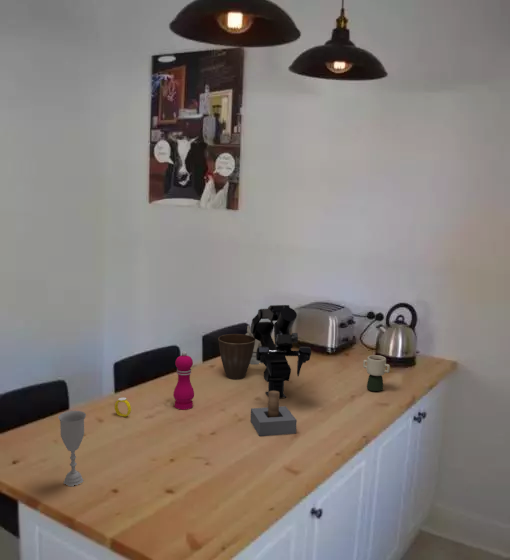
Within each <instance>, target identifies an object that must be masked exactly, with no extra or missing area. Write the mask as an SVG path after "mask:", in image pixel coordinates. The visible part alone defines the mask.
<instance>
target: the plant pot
mask: <svg viewBox="0 0 510 560" xmlns="http://www.w3.org/2000/svg"><path fill="white" fill-rule="evenodd" d="M217 338H218V340H217V341H218V348H219V355H220V359H221V363H222V367H223V370H224V374H225V376H226V378H228V379H230V380H242V379H244V378H245V376H246V375H247V372H248V370H249V367H250V361H251V358H252V354H253V350H254V345H255V338H254V337H252V336H249V335H245V334H241V333H229V334H222V335H220V336H219V337H217Z"/></svg>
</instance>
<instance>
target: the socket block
mask: <svg viewBox="0 0 510 560" xmlns="http://www.w3.org/2000/svg"><path fill="white" fill-rule="evenodd" d="M297 422H298V420H297V419H296V417H295V416H294V415H293V414H292V412H291V411H290V410H289V409H288V407H287V406H286V405H284V406H283V405H282V406H279V417H271V418H268V406H267V407H254V408H253V407H252V408H250V423H251V424H252V426H253V428H254V430H255V431H256V433H257V435H258V436H259V437H266V436H278V435H294V434H297Z"/></svg>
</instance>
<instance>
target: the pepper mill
mask: <svg viewBox="0 0 510 560" xmlns="http://www.w3.org/2000/svg"><path fill="white" fill-rule="evenodd" d="M187 354H188V353H187V351H185V350H183V351H182V352H181V355H180V356H178V357H177V358H176V359H175V362H174V363H175V367H176V374H177V383H176V386H175V388H174V391H173V395H172V396H173V398H174V408H175V409H177V410H183V411H184V410H190V409H192V408H193V405H194V404H193V403H194V402H193V399H194V397H195V391H194V387H193V386H192V383H191V374H192V367H193V365H194V361H193V359H192V357H191V356H189V355H187Z"/></svg>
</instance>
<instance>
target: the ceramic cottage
mask: <svg viewBox="0 0 510 560" xmlns="http://www.w3.org/2000/svg"><path fill="white" fill-rule="evenodd" d="M246 328H247V329H246V333H245V334H244V335H249V336H252V337H254V336H253V334H252V333H251V325H246ZM259 346H262V345H261V342H260V341H258V340H257V339H255V345H254V350H253V354H252V358H251V361H250V364H251V365H260V364H259V363H261V362H260V361H258V360H256V353H257V348H258V347H259ZM250 364H249V365H250ZM261 364H262V363H261Z"/></svg>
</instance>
